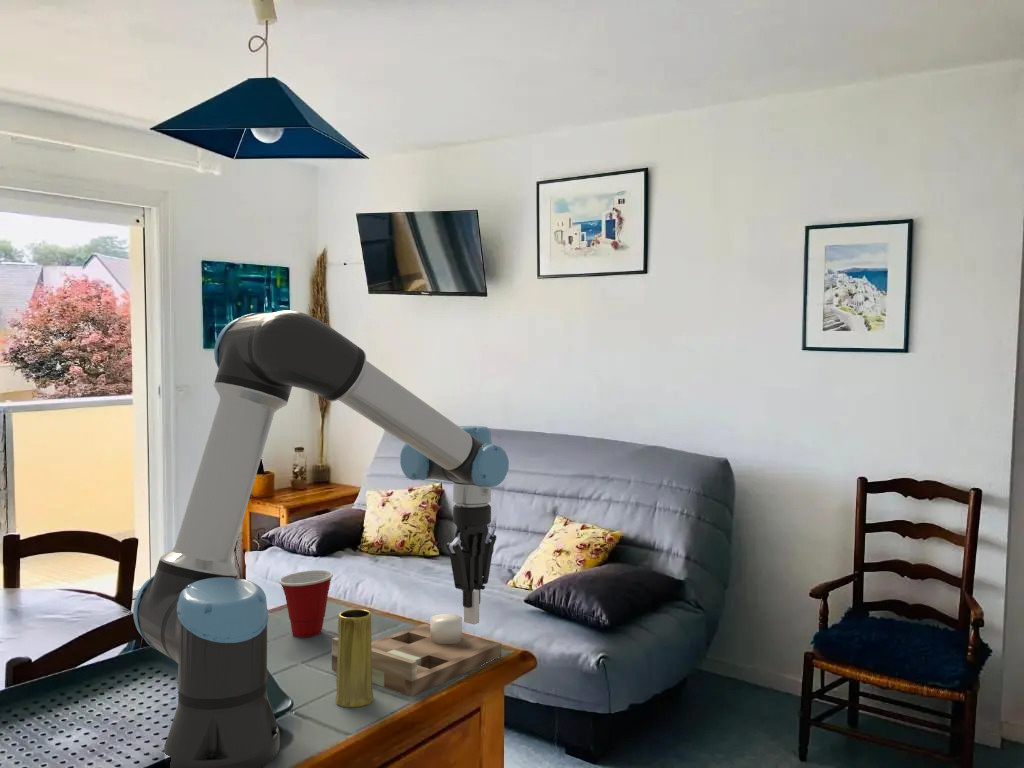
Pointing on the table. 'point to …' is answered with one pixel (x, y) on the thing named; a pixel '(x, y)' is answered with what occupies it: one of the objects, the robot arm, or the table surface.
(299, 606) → the plastic cup
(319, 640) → the table surface
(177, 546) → the robot arm
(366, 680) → the vase
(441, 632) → the white rounded block
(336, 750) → the table surface
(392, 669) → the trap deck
